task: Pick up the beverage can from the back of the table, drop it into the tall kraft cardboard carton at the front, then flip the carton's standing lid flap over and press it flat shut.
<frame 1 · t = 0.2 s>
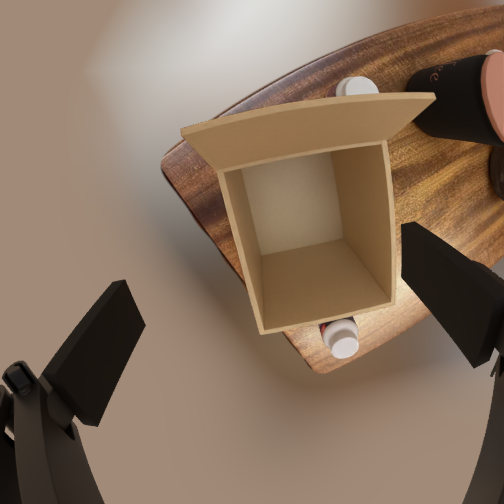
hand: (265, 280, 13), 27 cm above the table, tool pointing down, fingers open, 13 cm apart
pill bottle: (340, 101, 33), on the table
coffee jar: (430, 103, 32), on the table
pill bottle 2: (330, 308, 45), on the table
carton: (293, 198, 38), on the table
flap: (312, 129, 15), point 22 cm above the table, hinge at 110.0°
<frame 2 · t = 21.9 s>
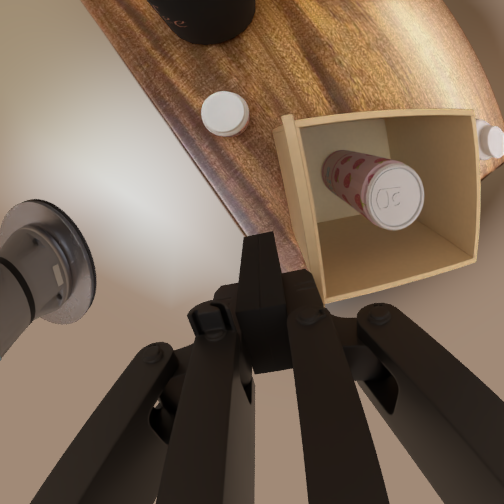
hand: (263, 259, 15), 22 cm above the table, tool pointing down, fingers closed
pill bottle: (230, 118, 32), on the table
coffee jar: (212, 13, 26), on the table
pill bottle 2: (452, 136, 31), on the table
beverage can: (342, 172, 33), resting on carton
carton: (340, 170, 34), on the table
flap: (313, 248, 14), point 22 cm above the table, hinge at 98.4°, touching gripper
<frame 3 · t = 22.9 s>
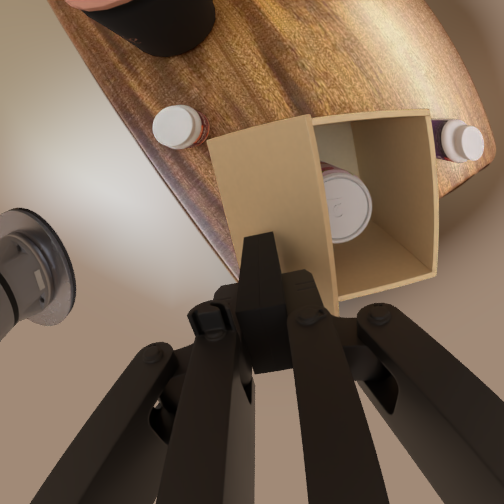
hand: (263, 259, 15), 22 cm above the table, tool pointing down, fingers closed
pill bottle: (191, 128, 32), on the table
coffee jar: (175, 24, 26), on the table
pill bottle 2: (428, 137, 31), on the table
beverage can: (305, 179, 34), resting on carton
carton: (303, 177, 34), on the table
flap: (275, 250, 15), point 21 cm above the table, hinge at 49.1°
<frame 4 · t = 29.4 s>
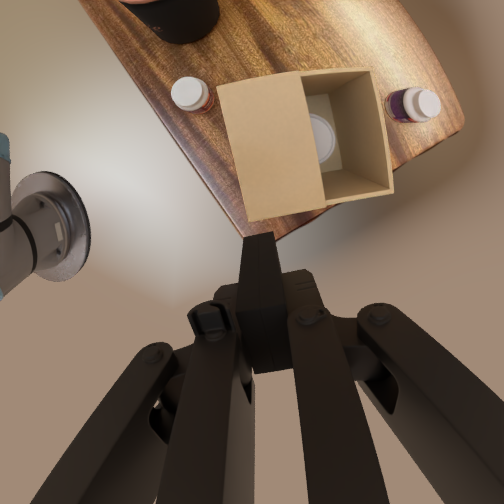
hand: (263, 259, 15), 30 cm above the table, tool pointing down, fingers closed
pill bottle: (199, 99, 38), on the table
coffee jar: (187, 19, 33), on the table
pill bottle 2: (398, 107, 38), on the table
beverage can: (291, 139, 40), resting on carton
carton: (290, 138, 40), on the table
flap: (273, 145, 24), point 18 cm above the table, hinge at 0.6°
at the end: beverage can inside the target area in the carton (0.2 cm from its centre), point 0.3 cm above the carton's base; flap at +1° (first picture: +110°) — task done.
